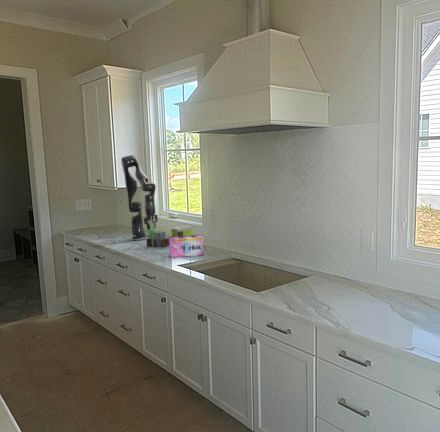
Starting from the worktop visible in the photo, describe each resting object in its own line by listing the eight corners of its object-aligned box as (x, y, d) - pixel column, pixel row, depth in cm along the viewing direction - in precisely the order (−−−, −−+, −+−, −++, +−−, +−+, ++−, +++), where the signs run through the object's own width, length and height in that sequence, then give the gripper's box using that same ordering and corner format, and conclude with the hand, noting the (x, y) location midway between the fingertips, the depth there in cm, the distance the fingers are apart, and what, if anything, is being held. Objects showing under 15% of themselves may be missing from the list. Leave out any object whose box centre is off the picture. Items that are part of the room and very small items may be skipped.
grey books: (161, 244, 328) (161, 231, 326) (166, 245, 326) (165, 231, 325) (156, 246, 322) (155, 232, 320) (160, 246, 320) (160, 232, 319)
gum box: (204, 252, 301) (203, 234, 299) (204, 255, 293) (203, 236, 291) (170, 255, 295) (169, 236, 294) (169, 257, 288) (168, 238, 286)
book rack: (155, 245, 332) (154, 236, 331) (170, 246, 327) (170, 237, 326) (146, 247, 323) (146, 238, 322) (162, 248, 318) (162, 239, 317)
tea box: (188, 243, 337) (187, 225, 335) (195, 244, 330) (194, 226, 328) (172, 246, 327) (171, 227, 325) (178, 247, 320) (177, 229, 318)
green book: (153, 237, 329) (152, 222, 327) (155, 237, 328) (154, 222, 327) (148, 238, 323) (147, 223, 322) (150, 238, 323) (149, 223, 321)
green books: (156, 244, 329) (155, 229, 327) (160, 244, 328) (159, 230, 326) (151, 246, 323) (150, 231, 322) (155, 246, 322) (154, 231, 320)
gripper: (147, 208, 315) (149, 230, 317) (159, 206, 328) (161, 227, 330) (139, 208, 317) (141, 230, 319) (152, 206, 331) (153, 227, 333)
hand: (151, 228), depth 325 cm, fingers closed on green book, 6 cm apart
